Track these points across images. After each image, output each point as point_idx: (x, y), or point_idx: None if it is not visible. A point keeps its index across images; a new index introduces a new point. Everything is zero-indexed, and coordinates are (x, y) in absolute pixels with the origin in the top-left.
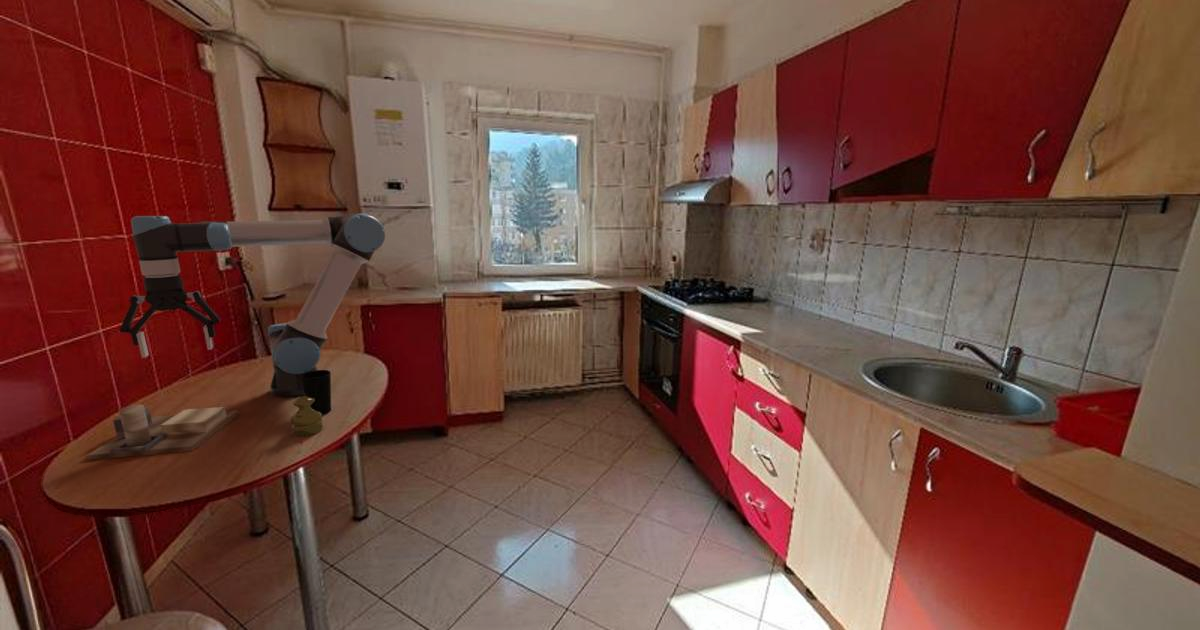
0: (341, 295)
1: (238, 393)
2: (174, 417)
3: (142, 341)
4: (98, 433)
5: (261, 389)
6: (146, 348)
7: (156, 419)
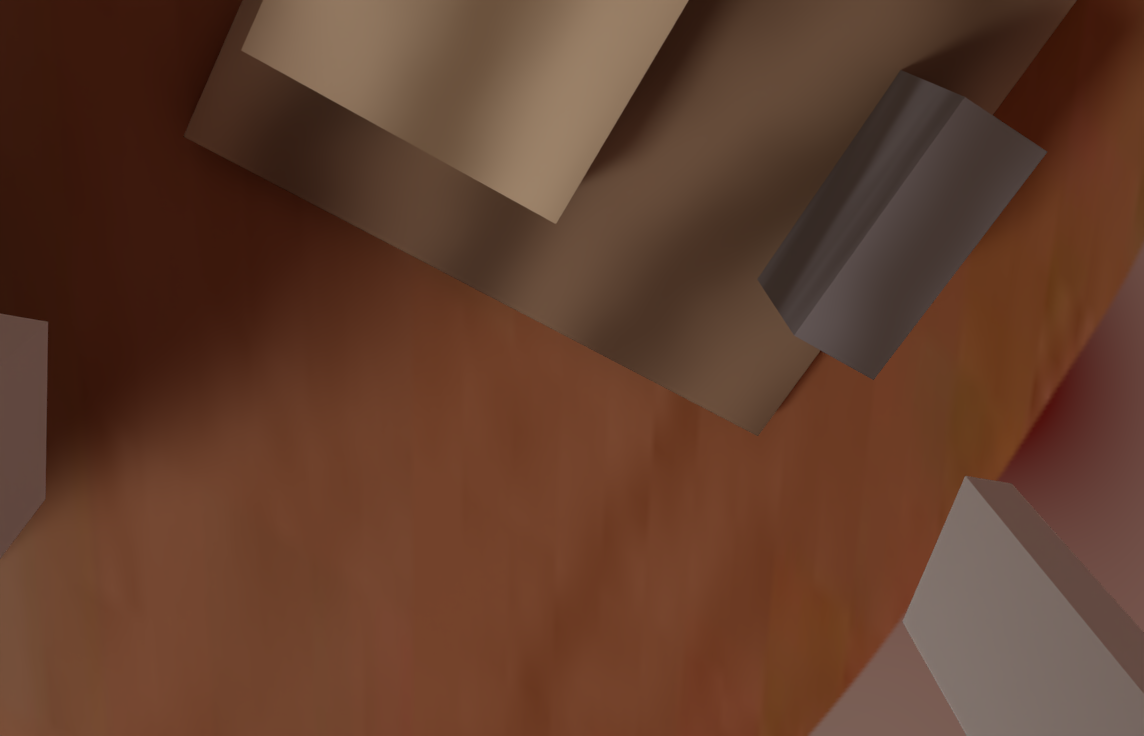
0: None
1: (220, 631)
2: (632, 53)
3: (1116, 701)
4: (1022, 390)
5: (60, 621)
6: (968, 676)
7: (728, 350)
